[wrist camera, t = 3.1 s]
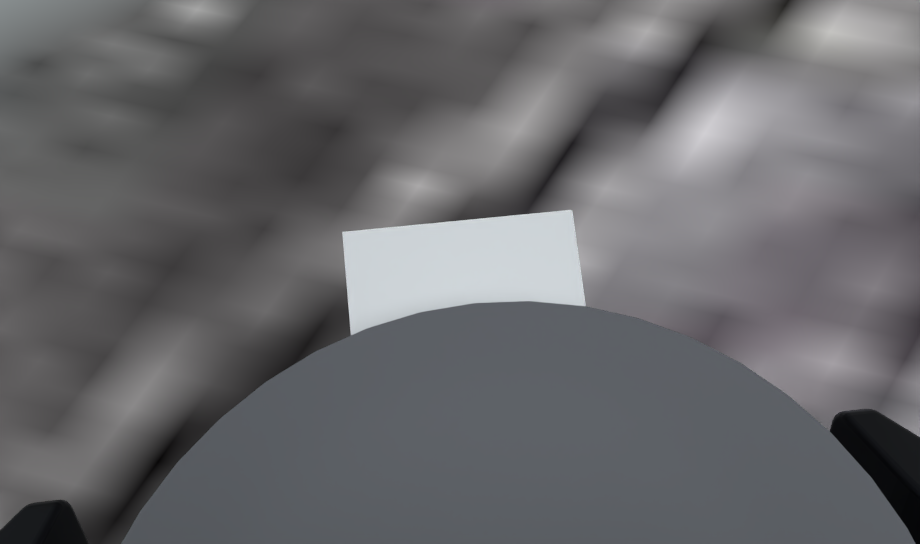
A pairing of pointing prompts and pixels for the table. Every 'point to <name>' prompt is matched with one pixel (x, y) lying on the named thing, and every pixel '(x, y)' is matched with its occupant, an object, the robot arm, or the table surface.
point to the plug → (510, 420)
